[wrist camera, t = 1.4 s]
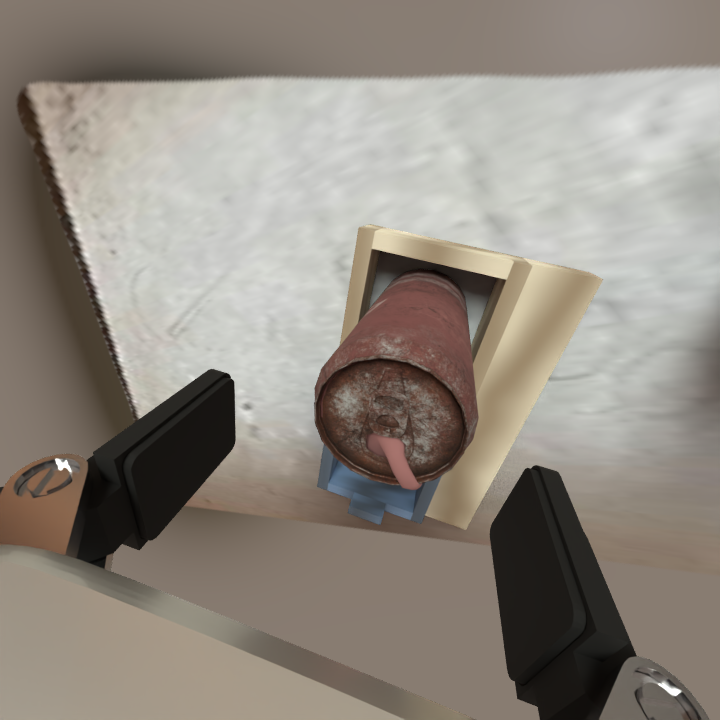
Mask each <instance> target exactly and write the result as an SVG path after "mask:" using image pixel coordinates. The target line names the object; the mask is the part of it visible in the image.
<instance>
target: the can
mask: <svg viewBox="0 0 720 720" xmlns="http://www.w3.org/2000/svg"><path fill="white" fill-rule="evenodd" d="M314 410H315V424H316V427H317V429H318V432H319V435H320V437H321V440H322V442H323V443H324V444H325V446H326V447H327V448H328V450H329V451H330V452H331V454H332V455H333V456H334V457H335V458H336V459H337V460H338V461H340V462H341V463H342V464H343V465H345V466H346V467H347V468H348V469H350V470H351V471H353V472H355V473H357V474H359V475H361V476H363V477H365V478H367V479H369V480H372V481H376V482H380V483H385V484H389V485H401V487H402V488H405V489H410V490H416V489H418V488H420V487H421V485H422V483H425V482H429V481H433V480H435V479H437V478H439V477H440V476H442V475H443V474H445V473H447V472H448V471H450V470H452V468H453V467H454V466H455V465H456V463H457V462H458V461H459V459H460V458H461V457H462V455H463V454H464V451H465V450H466V448H467V447H468V446H469V444H470V443H471V442H472V441H473V438H474V434H475V431H476V427H477V423H478V419H479V416H478V407H477V398H476V389H475V380H474V370H473V361H472V352H471V343H470V334H469V325H468V316H467V308H466V301H465V297H464V295H463V293H462V291H461V289H460V287H459V285H457V284H456V283H455V282H454V281H453V280H452V279H451V278H450V277H449V276H447V275H445V274H443V273H440V272H438V271H436V270H429V269H417V270H412V271H408V272H405V273H403V274H402V275H400V276H398V277H397V278H395V279H394V280H393V281H392V282H391V283H390V284H389V286H388V287H387V288H386V289H385V290H384V292H383V293H382V294H381V295H380V297H379V298H378V299H377V300H376V302H375V303H374V304H373V305H372V306H371V308H370V309H369V310H368V311H367V313H366V314H365V315H364V316H363V318H362V319H361V320H360V321H359V323H358V324H357V325H356V326H355V328H354V329H353V330H352V331H351V333H350V334H349V335H348V336H347V338H346V339H345V340H344V341H343V343H342V344H341V345H340V346H339V348H338V349H337V350H336V351H335V353H334V354H333V355H332V356H331V357H330V359H329V360H328V361H327V362H326V364H325V365H324V366H323V367H322V369H321V372H320V374H319V377H318V380H317V383H316V386H315V403H314Z"/></svg>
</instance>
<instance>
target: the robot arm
mask: <svg viewBox="0 0 720 720" xmlns="http://www.w3.org/2000/svg"><path fill="white" fill-rule="evenodd" d="M234 444H235V392H234V381H233V380H232V379H231V377H230V375H229V374H228V373H224V372H221V371H218V370H214V369H210V370H208V371H207V372H205V373H204V374H202V375H201V376H200V377H198V378H197V379H195V380H194V381H192V382H191V383H190V384H188V385H187V386H185V387H184V388H183V389H181V390H180V391H178V392H177V393H176V394H174V395H173V396H171V397H170V398H169V399H167V400H166V401H164V402H163V403H162V404H160V405H159V406H157V407H156V408H155V409H153V410H152V411H150V412H149V413H148V414H146V415H145V416H143V417H142V418H140V419H139V420H138V421H136V422H135V423H133V424H132V425H131V426H129V427H128V428H127V429H125V430H124V431H122V432H121V433H119V434H118V435H117V436H115V437H114V438H112V439H111V440H110V441H108V442H107V443H105V444H104V445H103V446H101V447H100V448H98V449H97V450H96V451H94V452H93V454H94V455H93V456H92V457H90V458H89V459H88V460H86V459H85V458H83V457H81V456H79V455H75V454H57V455H52V456H48V457H44V458H42V459H39V460H37V461H34V462H32V463H30V464H28V465H27V466H25V467H23V468H22V469H20V470H19V471H17V472H16V473H15V474H14V475H12V476H11V477H10V479H9V480H8V481H7V483H6V484H5V486H4V487H0V720H476V719H473V718H471V717H469V716H466V715H464V714H462V713H459V712H457V711H454V710H452V709H450V708H447V707H445V706H442V705H440V704H437V703H435V702H433V701H430V700H428V699H425V698H423V697H421V696H418V695H416V694H413V693H410V692H408V691H406V690H404V689H401V688H399V687H396V686H394V685H391V684H389V683H387V682H384V681H382V680H379V679H377V678H374V677H372V676H370V675H367V674H365V673H362V672H360V671H358V670H355V669H353V668H350V667H348V666H345V665H343V664H340V663H338V662H336V661H333V660H331V659H328V658H326V657H323V656H321V655H318V654H316V653H313V652H311V651H309V650H306V649H303V648H301V647H299V646H296V645H294V644H291V643H289V642H286V641H284V640H282V639H279V638H277V637H274V636H272V635H269V634H267V633H264V632H262V631H259V630H257V629H255V628H252V627H250V626H247V625H245V624H242V623H240V622H237V621H235V620H232V619H230V618H227V617H225V616H222V615H220V614H217V613H215V612H212V611H210V610H207V609H205V608H202V607H200V606H197V605H195V604H192V603H190V602H187V601H185V600H182V599H180V598H177V597H175V596H172V595H170V594H167V593H165V592H162V591H160V590H157V589H155V588H152V587H150V586H147V585H145V584H142V583H140V582H137V581H135V580H132V579H130V578H127V577H124V576H122V575H119V574H116V573H114V572H111V566H112V560H113V553H114V552H115V551H116V550H117V549H118V548H119V546H120V545H121V544H124V545H127V546H129V547H132V548H134V549H137V550H140V549H141V548H142V547H143V546H144V545H145V543H146V542H147V541H148V540H153V539H155V538H156V537H157V536H158V535H159V534H160V533H161V532H162V530H163V529H164V528H165V527H166V526H167V525H168V523H169V522H170V521H171V520H172V519H173V518H174V517H175V515H176V514H177V513H178V512H179V511H180V510H181V508H182V507H183V506H184V505H185V504H186V503H187V501H188V500H189V499H190V498H191V497H192V496H193V495H194V493H195V492H196V491H197V490H198V489H199V488H200V486H201V485H202V484H203V483H204V482H205V481H206V479H207V478H208V477H209V476H210V475H211V474H212V472H213V471H214V470H215V469H216V468H217V467H218V465H219V464H220V463H221V462H222V461H223V460H224V459H225V457H226V456H227V455H228V454H229V453H230V452H231V450H232V449H233V447H234ZM490 541H491V549H492V555H493V564H494V571H495V579H496V587H497V595H498V601H499V602H498V603H499V610H500V617H501V626H502V633H503V640H504V649H505V656H506V664H507V670H508V674H509V677H510V679H511V680H513V681H515V685H516V692H517V699H519V700H522V701H525V702H527V703H530V704H532V705H535V706H537V707H538V711H539V716H540V720H709V718H708V716H707V714H706V712H705V711H704V709H703V708H702V707H701V705H700V704H699V703H698V701H697V700H696V699H695V697H694V696H693V695H692V693H691V692H690V691H689V690H688V689H687V688H686V687H685V686H684V685H683V684H682V683H681V682H680V681H679V680H678V679H677V678H676V677H675V676H674V675H672V674H671V673H670V672H668V671H667V670H666V669H665V668H664V667H662V666H660V665H659V664H657V663H655V662H653V661H652V660H650V659H646V658H642V657H639V656H636V653H635V651H634V649H633V646H632V644H631V641H630V639H629V636H628V634H627V632H626V629H625V627H624V625H623V622H622V620H621V617H620V616H619V613H618V610H617V608H616V605H615V603H614V601H613V598H612V596H611V593H610V591H609V589H608V586H607V584H606V581H605V579H604V577H603V574H602V572H601V570H600V567H599V565H598V562H597V560H596V557H595V555H594V553H593V550H592V548H591V546H590V543H589V541H588V538H587V537H586V535H585V533H584V532H583V529H582V527H581V524H580V522H579V519H578V517H577V515H576V512H575V510H574V507H573V505H572V503H571V500H570V498H569V495H568V493H567V491H566V488H565V486H564V483H563V481H562V478H561V476H560V474H559V473H558V472H557V471H554V470H551V469H547V468H544V467H541V466H537V465H535V466H533V467H532V468H531V469H530V468H526V469H525V470H524V472H523V473H522V475H521V477H520V478H519V480H518V482H517V483H516V485H515V487H514V488H513V490H512V492H511V493H510V495H509V496H508V498H507V500H506V501H505V503H504V505H503V506H502V508H501V510H500V511H499V513H498V515H497V516H496V518H495V520H494V521H493V523H492V525H491V529H490Z"/></svg>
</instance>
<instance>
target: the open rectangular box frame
mask: <svg viewBox="0 0 720 720" xmlns="http://www.w3.org/2000/svg"><path fill="white" fill-rule="evenodd" d="M380 251H384V252H389V253H393V254H397V255H402V256H406V257H410V258H415V259H419V260H423V261H428V262H432V263H436V264H441V265H445V266H449V267H454V268H458V269H462V270H467V271H471V272H475V273H480V274H484V275H488V276H493V277H497V280H496V282H495V285H494V287H493V290H492V293H491V295H490V298H489V300H488V303H487V306H486V308H485V311H484V313H483V316H482V319H481V321H480V324H479V326H478V329H477V331H476V334H475V337H474V339H473V342H472V344H471V352H472V361H473V370H474V380H475V389H476V398H477V407H478V416H479V419H478V423H477V427H476V431H475V434H474V438H473V441H472V442H471V443H470V444H469V446H468V447H467V448H466V450H465V451H464V454H463V455H462V457H461V458H460V459H459V461H458V462H457V463H456V465H455V466H454V467H453V468H452V470H450V471H448V472H447V473H445V474H443V475H442V476H440V477H439V478H437V479H435V480H433V481H429V482H425V483H422V485H421V487H420V488H418V489H416V490H410V489H405V488H402V487H401V485H389V484H385V483H380V482H376V481H372V480H369V479H367V478H365V477H363V476H361V475H359V474H357V473H355V472H353V471H351V470H350V469H348V468H347V467H346V466H345V465H343V464H342V463H341V462H340V461H338V460H337V459H336V458H335V457H334V456H333V455H332V454H331V452H330V451H329V450H328V448H327V447H326V446H325V444H324V447H323V453H322V459H321V466H320V472H319V478H318V484H317V487H319V488H322V489H325V490H327V491H330V492H333V493H336V494H339V495H341V496H344V497H347V498H350V499H352V500H351V503H350V505H349V509H348V513H349V514H351V515H354V516H357V517H359V518H362V519H365V520H368V521H370V522H373V523H376V524H379V525H380V524H381V521H382V518H383V514H384V511H386V512H389V513H392V514H395V515H397V516H400V517H403V518H406V519H408V520H411V521H414V522H417V523H420V524H421V523H422V521H423V519H424V516H428V517H431V518H433V519H436V520H439V521H442V522H445V523H448V524H450V525H453V526H456V527H459V528H462V529H465V530H466V528H467V526H468V525H469V523H470V521H471V519H472V517H473V515H474V514H475V512H476V510H477V508H478V506H479V505H480V503H481V501H482V499H483V497H484V495H485V494H486V492H487V490H488V488H489V486H490V485H491V483H492V481H493V479H494V477H495V475H496V474H497V472H498V470H499V468H500V466H501V464H502V463H503V461H504V459H505V457H506V455H507V454H508V452H509V450H510V448H511V446H512V444H513V443H514V441H515V439H516V437H517V435H518V434H519V432H520V430H521V428H522V426H523V424H524V423H525V421H526V419H527V417H528V415H529V414H530V412H531V410H532V408H533V406H534V404H535V403H536V401H537V399H538V397H539V395H540V394H541V392H542V390H543V388H544V386H545V384H546V383H547V381H548V379H549V377H550V375H551V373H552V372H553V370H554V368H555V366H556V364H557V363H558V361H559V359H560V357H561V355H562V353H563V352H564V350H565V348H566V346H567V344H568V343H569V341H570V339H571V337H572V335H573V333H574V332H575V330H576V328H577V326H578V324H579V323H580V321H581V319H582V317H583V315H584V313H585V312H586V310H587V308H588V306H589V304H590V302H591V301H592V299H593V297H594V295H595V293H596V292H597V290H598V288H599V286H600V284H601V282H602V281H603V279H601V278H599V277H597V276H596V275H594V274H592V273H590V272H585V271H580V270H576V269H571V268H567V267H562V266H558V265H553V264H548V263H544V262H539V261H535V260H530V259H526V258H521V257H517V256H512V255H507V254H503V253H498V252H494V251H489V250H485V249H480V248H476V247H471V246H466V245H462V244H457V243H453V242H448V241H444V240H439V239H435V238H430V237H425V236H421V235H416V234H412V233H407V232H403V231H398V230H393V229H389V228H384V227H380V226H375V225H371V224H370V225H366V226H363V227H359V229H358V235H357V242H356V248H355V254H354V260H353V266H352V273H351V279H350V285H349V291H348V298H347V304H346V310H345V316H344V323H343V329H342V335H341V341H340V345H341V344H342V343H343V341H344V340H345V339H346V338H347V336H348V335H349V334H350V333H351V331H352V330H353V329H354V328H355V326H356V325H357V324H358V323H359V321H360V320H361V319H362V318H363V316H364V315H365V314H366V313H367V311H368V309H369V304H370V299H371V294H372V289H373V284H374V279H375V274H376V269H377V264H378V259H379V254H380Z"/></svg>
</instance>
